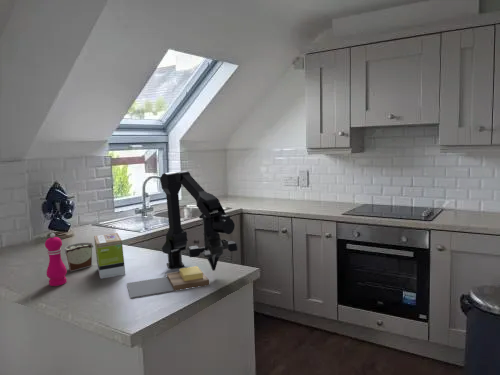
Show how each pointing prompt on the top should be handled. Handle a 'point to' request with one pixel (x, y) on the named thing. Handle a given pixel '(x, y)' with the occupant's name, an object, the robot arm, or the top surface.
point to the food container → (79, 255)
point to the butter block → (191, 273)
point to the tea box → (109, 255)
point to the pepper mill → (55, 261)
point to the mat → (149, 287)
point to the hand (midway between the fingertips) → (213, 270)
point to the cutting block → (179, 283)
